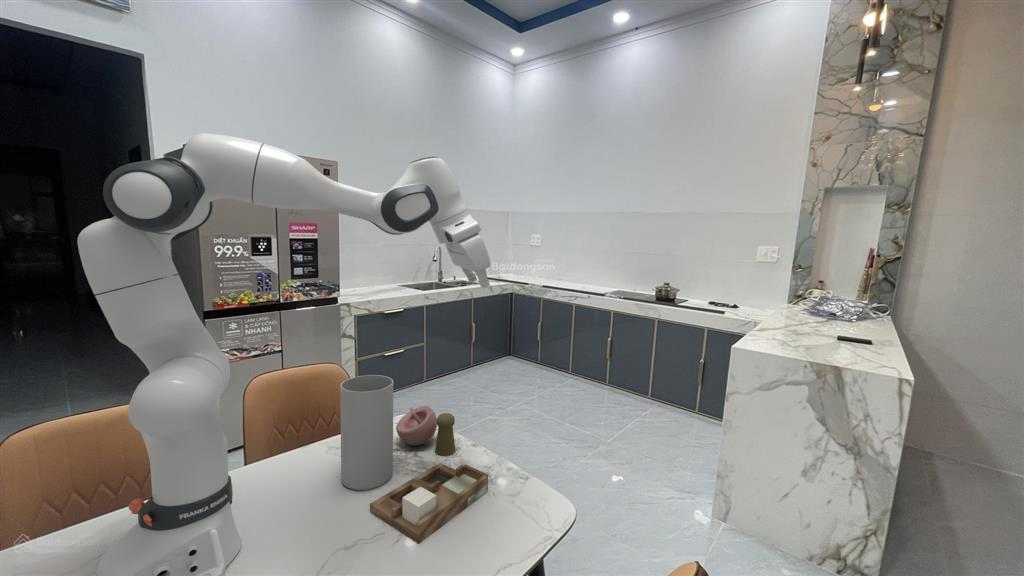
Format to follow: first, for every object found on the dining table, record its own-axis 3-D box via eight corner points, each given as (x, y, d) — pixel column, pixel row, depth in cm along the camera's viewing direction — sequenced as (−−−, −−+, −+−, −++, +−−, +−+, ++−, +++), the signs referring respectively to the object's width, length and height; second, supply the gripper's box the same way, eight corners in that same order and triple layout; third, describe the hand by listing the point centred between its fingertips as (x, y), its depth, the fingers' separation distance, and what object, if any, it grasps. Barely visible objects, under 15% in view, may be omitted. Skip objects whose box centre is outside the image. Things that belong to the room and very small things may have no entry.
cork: (430, 451, 119) (430, 415, 118) (444, 443, 124) (445, 409, 123) (445, 458, 116) (446, 421, 114) (459, 450, 120) (460, 414, 119)
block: (418, 527, 85) (418, 506, 84) (402, 517, 88) (402, 497, 87) (435, 514, 89) (436, 495, 88) (420, 505, 92) (420, 486, 91)
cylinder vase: (363, 498, 97) (363, 396, 94) (330, 480, 103) (329, 384, 100) (403, 473, 107) (403, 381, 105) (371, 459, 114) (371, 372, 111)
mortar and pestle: (391, 438, 126) (392, 402, 125) (429, 431, 132) (430, 396, 131) (401, 456, 116) (401, 417, 114) (442, 447, 121) (442, 410, 120)
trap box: (418, 544, 83) (418, 525, 82) (369, 512, 92) (369, 495, 91) (489, 490, 101) (489, 475, 101) (442, 468, 111) (443, 454, 110)
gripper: (432, 233, 100) (456, 284, 104) (453, 235, 81) (480, 297, 85) (455, 223, 101) (477, 273, 105) (481, 222, 83) (506, 283, 87)
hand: (479, 283), depth 95 cm, fingers open, 8 cm apart
